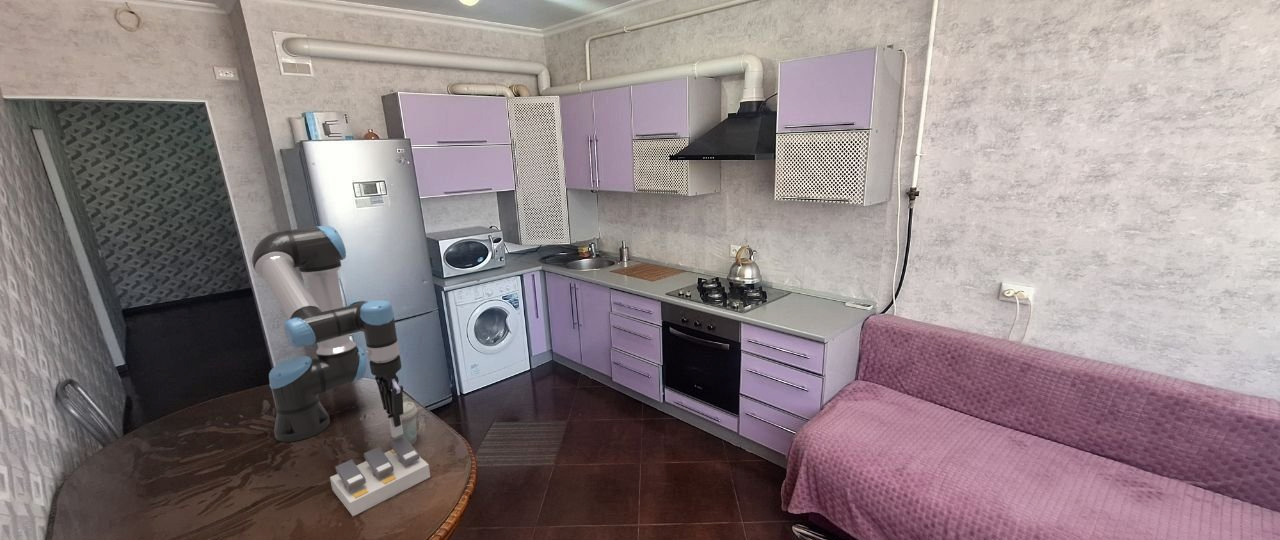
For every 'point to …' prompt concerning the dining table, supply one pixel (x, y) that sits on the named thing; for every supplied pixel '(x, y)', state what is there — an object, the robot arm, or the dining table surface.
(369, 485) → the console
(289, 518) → the dining table surface
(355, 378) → the robot arm
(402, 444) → the switch
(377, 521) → the dining table surface
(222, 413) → the dining table surface
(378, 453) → the switch
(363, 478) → the switch
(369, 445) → the dining table surface
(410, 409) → the coffee cup
